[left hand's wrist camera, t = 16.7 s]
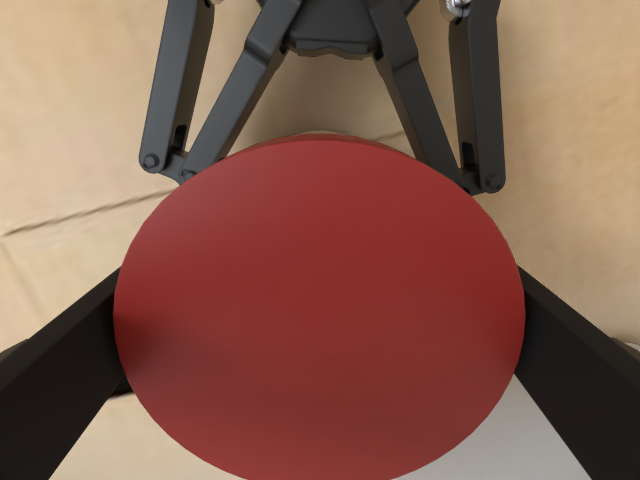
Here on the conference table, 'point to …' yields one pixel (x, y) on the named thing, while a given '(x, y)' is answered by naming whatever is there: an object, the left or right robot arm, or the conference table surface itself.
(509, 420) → the projector
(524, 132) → the conference table surface
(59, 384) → the left robot arm
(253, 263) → the lid
